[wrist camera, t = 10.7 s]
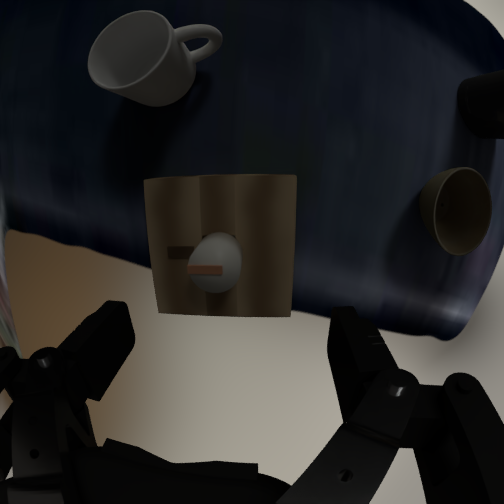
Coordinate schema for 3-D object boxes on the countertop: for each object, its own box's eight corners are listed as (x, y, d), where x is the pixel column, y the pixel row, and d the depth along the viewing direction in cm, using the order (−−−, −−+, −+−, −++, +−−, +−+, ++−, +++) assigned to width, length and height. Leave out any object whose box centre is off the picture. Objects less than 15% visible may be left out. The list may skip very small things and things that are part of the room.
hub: (293, 174, 30) (297, 176, 27) (288, 304, 35) (290, 318, 32) (153, 178, 30) (142, 180, 27) (165, 301, 35) (157, 314, 32)
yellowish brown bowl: (389, 211, 30) (418, 224, 24) (426, 148, 28) (460, 148, 21) (435, 252, 32) (465, 271, 25) (468, 194, 29) (501, 203, 22)
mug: (219, 28, 24) (203, -17, 14) (237, 83, 27) (226, 49, 17) (127, 63, 25) (83, 37, 16) (140, 118, 28) (93, 105, 18)
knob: (244, 223, 32) (239, 244, 24) (245, 263, 33) (240, 294, 25) (203, 223, 32) (185, 244, 24) (205, 262, 33) (189, 293, 25)
